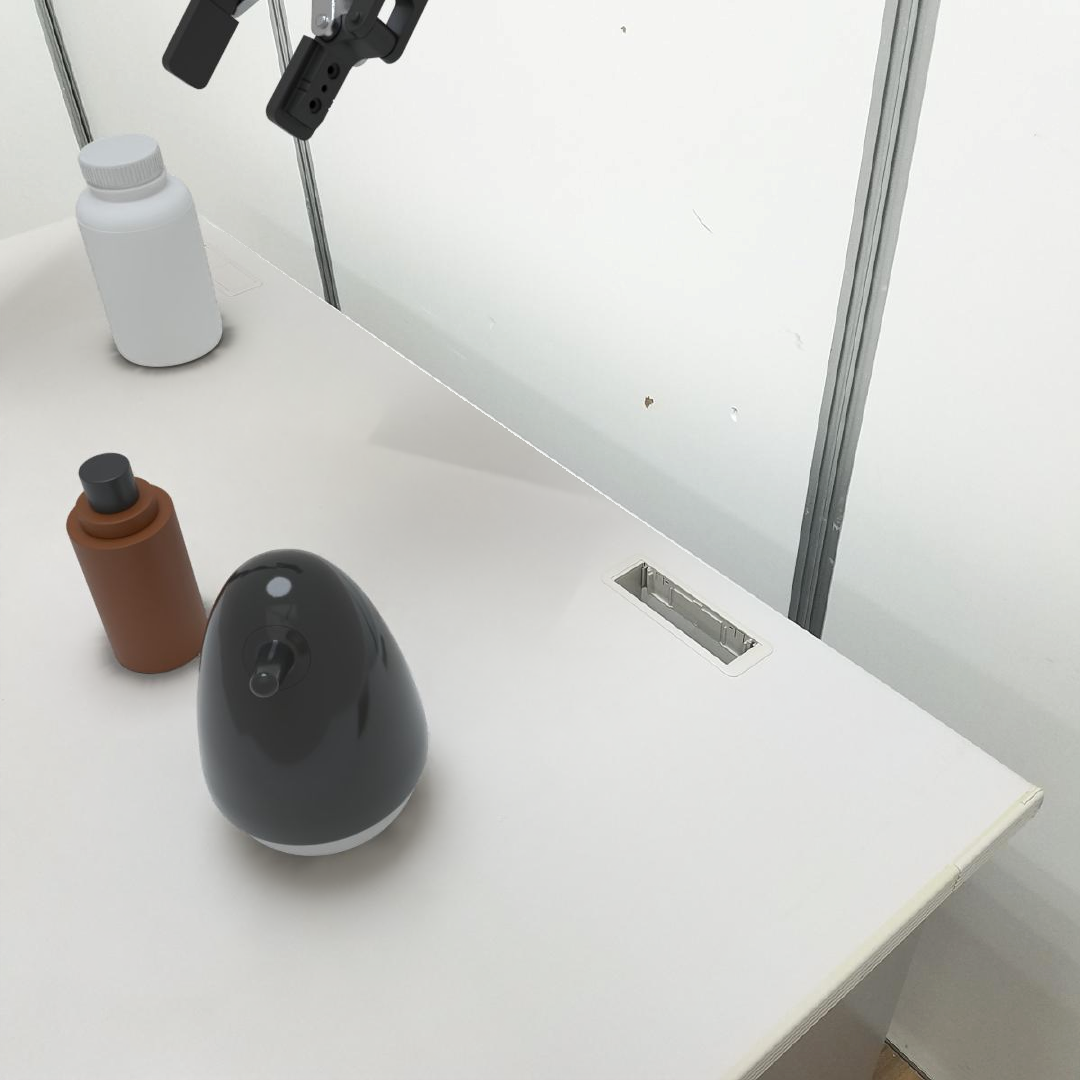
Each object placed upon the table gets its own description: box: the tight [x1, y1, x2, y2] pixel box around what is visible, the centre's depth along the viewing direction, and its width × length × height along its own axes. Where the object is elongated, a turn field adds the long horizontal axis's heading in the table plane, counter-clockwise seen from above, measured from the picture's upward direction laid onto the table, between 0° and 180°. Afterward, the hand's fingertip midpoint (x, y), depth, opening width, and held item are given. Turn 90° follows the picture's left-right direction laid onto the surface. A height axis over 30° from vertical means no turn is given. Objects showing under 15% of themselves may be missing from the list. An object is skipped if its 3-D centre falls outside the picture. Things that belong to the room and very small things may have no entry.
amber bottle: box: [65, 452, 209, 674], centre depth 59 cm, size 5×5×12 cm
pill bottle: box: [75, 133, 223, 368], centre depth 81 cm, size 8×8×15 cm
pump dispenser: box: [196, 548, 430, 857], centre depth 50 cm, size 10×10×15 cm
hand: (230, 103), depth 51 cm, fingers open, 8 cm apart
